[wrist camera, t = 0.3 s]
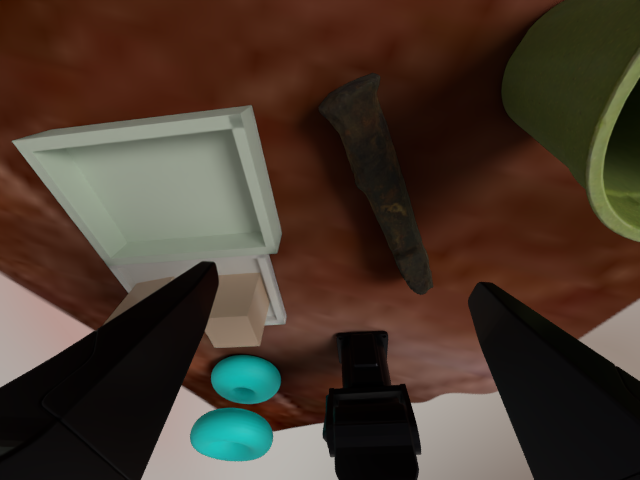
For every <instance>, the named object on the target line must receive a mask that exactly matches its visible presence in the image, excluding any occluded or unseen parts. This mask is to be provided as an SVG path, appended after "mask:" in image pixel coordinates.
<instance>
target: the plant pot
mask: <svg viewBox="0 0 640 480" xmlns="http://www.w3.org/2000/svg"><path fill="white" fill-rule="evenodd" d="M501 94H502V101H503V105H504V108H505V111H506V112H507V114H508V116H509V117H510V118H511V119H512V120H513V121H514V122H515V123H516V124H517V125H519V126H520V127H521V128H522V129H523V130H525V131H526V132H527V133H528V134H529V135H531V136H532V137H533V138H534V139H535V140H536V141H538V142H539V143H540V144H541V145H542V146H543V147H545V148H546V149H547V150H548V151H549V152H550V153H552V154H553V155H554V156H555V157H556V158H557V159H559V160H560V161H561V162H562V163H563V164H565V165H566V166H567V167H568V168H569V170H570V172H571V173H572V175H573V176H574V178H575V179H576V180H577V182H578V183H579V184H580V185H581V186H582V187H584V188H585V189H586V194H587V197H588V201H589V203H590V206H591V208H592V210H593V211H594V213H595V214H596V216H597V217H598V218H599V219H600V221H601V222H602V223H603V224H604V225H605V226H607V227H608V228H609V229H611V230H612V231H614V232H615V233H617V234H619V235H621V236H623V237H625V238H628V239H631V240H634V241H638V242H640V0H565V1H563V2H561V3H560V4H558V5H556V6H555V7H553V8H552V9H551V10H549V11H548V12H547V13H545V14H544V15H543V16H542V17H541V18H539V19H538V20H537V21H536V22H535V23H534V24H533V25H532V27H531V28H530V29H529V30H528V32H527V33H526V35H525V36H524V38H523V39H522V41H521V42H520V44H519V45H518V47H517V48H516V50H515V52H514V53H513V54H512V56H511V57H510V59H509V61H508V64H507V66H506V69H505V72H504V76H503V81H502V90H501Z"/></svg>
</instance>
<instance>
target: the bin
mask: <svg viewBox="0 0 640 480" xmlns="http://www.w3.org/2000/svg"><path fill="white" fill-rule="evenodd" d="M12 142H13V143H14V145H15V146H16V147H17V149H18V150H19V151H20V152H21V154H22V155H23V156H24V158H25V159H26V160H27V162H28V163H29V164H30V165H31V167H32V168H33V169H34V171H35V172H36V173H37V175H38V176H39V177H40V178H41V180H42V181H43V182H44V184H45V185H46V186H47V188H48V189H49V190H50V192H51V193H52V194H53V195H54V197H55V198H56V199H57V201H58V202H59V203H60V205H61V206H62V207H63V208H64V210H65V211H66V212H67V214H68V215H69V216H70V218H71V219H72V220H73V221H74V223H75V224H76V225H77V227H78V228H79V229H80V231H81V232H82V233H83V234H84V236H85V237H86V238H87V240H88V241H89V242H90V244H91V245H92V246H93V247H94V249H95V250H96V251H97V253H98V254H99V255H100V257H101V258H102V259H103V260H104V262H105V263H106V264H107V266H114V265H128V264H141V263H155V262H168V261H182V260H195V259H209V258H222V257H236V256H249V255H263V254H277V252H278V248H279V244H280V240H281V236H282V232H281V227H280V223H279V219H278V215H277V210H276V206H275V202H274V198H273V193H272V189H271V185H270V181H269V176H268V172H267V168H266V164H265V159H264V155H263V151H262V147H261V142H260V138H259V134H258V130H257V125H256V121H255V117H254V113H253V108H252V105H250V106H242V107H234V108H226V109H218V110H209V111H201V112H193V113H185V114H177V115H168V116H160V117H152V118H144V119H135V120H127V121H119V122H111V123H103V124H94V125H86V126H78V127H70V128H62V129H53V130H48V131H45V132H41V133H38V134H34V135H31V136H27V137H24V138H20V139H17V140H13V141H12Z"/></svg>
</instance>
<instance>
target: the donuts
mask: <svg viewBox="0 0 640 480" xmlns="http://www.w3.org/2000/svg"><path fill="white" fill-rule="evenodd" d="M211 383H212V385H213V388H214V389H215V391H216V392H217V393H218V394H219V395H221V396H222V397H224V398H225V399H227V400H230V401H233V402H236V403H242V404H255V403H260V402H263V401H266V400H268V399H270V398H271V397H273V396H274V395H275V394H276V392H277V391H278V389H279V387H280V384H281V376H280V373H279V371H278V369H277V368H276V367H275V366H274V365H273V364H272V363H270V362H269V361H267V360H265V359H262V358H260V357H256V356H251V355H235V356H230V357H227V358H225V359H223V360H221V361H220V362H219V363H218V364H217V365H216V366H215V367H214V369H213V371H212V374H211ZM190 440H191V444H192V446H193V447H194V448H195V449H196V450H197V451H198V452H199V453H201V454H203V455H205V456H208V457H211V458H215V459H219V460H225V461H248V460H254V459H257V458H259V457H261V456H263V455H264V454H265V453H267V451H268V450H269V449H270V447H271V445H272V441H273V432H272V429H271V427H270V425H269V423H268V422H267V421H266V420H265V419H264V418H263V417H261V416H260V415H258V414H256V413H254V412H252V411H249V410H245V409H239V408H221V409H216V410H213V411H210V412H208V413H206V414H204V415H203V416H201V417H200V418H199V419H198V420H197V421H196V422H195V424H194V425H193V427H192V430H191V434H190Z"/></svg>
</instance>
